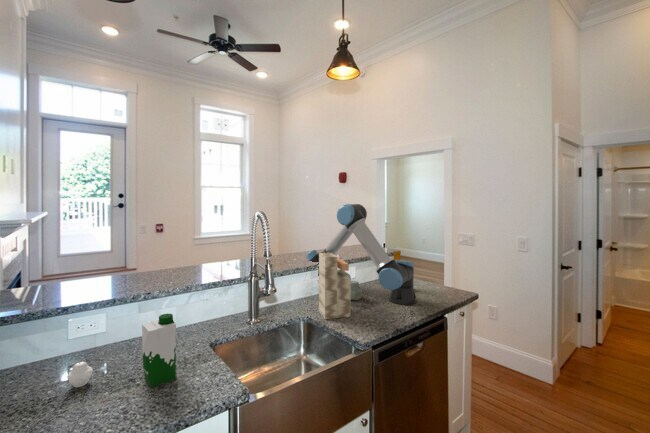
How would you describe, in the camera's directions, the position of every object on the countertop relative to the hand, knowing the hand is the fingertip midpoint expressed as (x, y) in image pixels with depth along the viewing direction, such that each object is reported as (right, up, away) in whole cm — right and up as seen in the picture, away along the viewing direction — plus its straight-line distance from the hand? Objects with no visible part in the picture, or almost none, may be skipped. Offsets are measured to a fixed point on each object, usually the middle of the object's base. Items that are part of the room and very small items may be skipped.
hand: (336, 255), depth 163 cm
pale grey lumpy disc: (-82, -31, -67) cm, 110 cm away
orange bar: (+1, -5, -4) cm, 6 cm away
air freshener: (+11, -27, +16) cm, 33 cm away
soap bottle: (+40, -26, +36) cm, 60 cm away
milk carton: (-59, -31, -64) cm, 92 cm away
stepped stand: (-2, -28, -7) cm, 29 cm away
